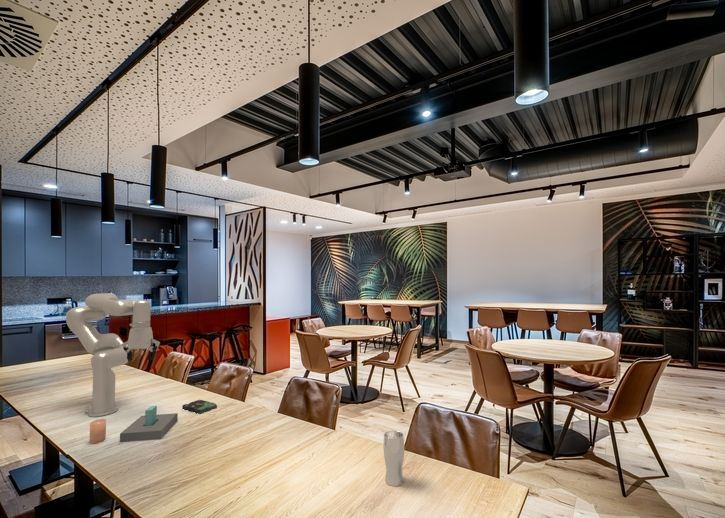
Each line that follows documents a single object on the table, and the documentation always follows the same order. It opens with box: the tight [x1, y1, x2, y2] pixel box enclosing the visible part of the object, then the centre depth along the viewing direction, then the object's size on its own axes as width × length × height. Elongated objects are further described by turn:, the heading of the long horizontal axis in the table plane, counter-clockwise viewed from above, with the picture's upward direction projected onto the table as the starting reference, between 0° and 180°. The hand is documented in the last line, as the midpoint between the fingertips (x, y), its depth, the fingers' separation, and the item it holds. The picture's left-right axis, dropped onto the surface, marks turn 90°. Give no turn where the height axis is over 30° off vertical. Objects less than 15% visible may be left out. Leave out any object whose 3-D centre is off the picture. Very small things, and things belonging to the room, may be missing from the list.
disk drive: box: [181, 399, 218, 415], centre depth 187 cm, size 10×3×15 cm
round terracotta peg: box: [89, 418, 107, 445], centre depth 150 cm, size 6×6×8 cm
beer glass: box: [382, 430, 405, 487], centre depth 118 cm, size 7×7×15 cm
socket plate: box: [119, 412, 179, 443], centre depth 160 cm, size 16×20×4 cm
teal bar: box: [144, 405, 158, 426], centre depth 160 cm, size 2×6×10 cm, turn 9°
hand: (140, 359), depth 176 cm, fingers open, 9 cm apart
